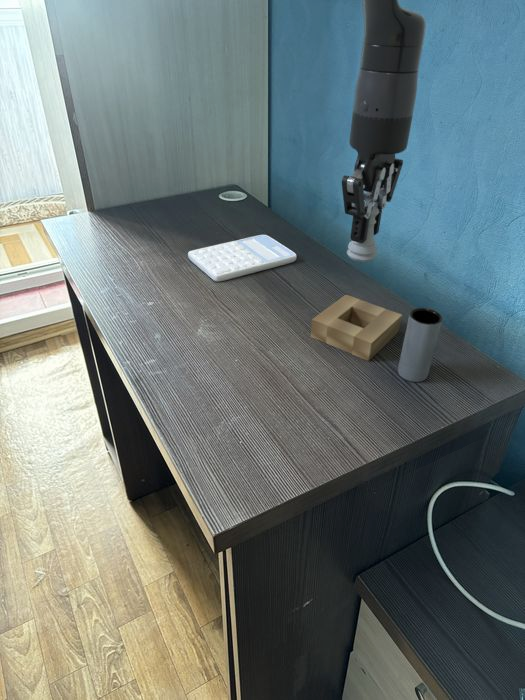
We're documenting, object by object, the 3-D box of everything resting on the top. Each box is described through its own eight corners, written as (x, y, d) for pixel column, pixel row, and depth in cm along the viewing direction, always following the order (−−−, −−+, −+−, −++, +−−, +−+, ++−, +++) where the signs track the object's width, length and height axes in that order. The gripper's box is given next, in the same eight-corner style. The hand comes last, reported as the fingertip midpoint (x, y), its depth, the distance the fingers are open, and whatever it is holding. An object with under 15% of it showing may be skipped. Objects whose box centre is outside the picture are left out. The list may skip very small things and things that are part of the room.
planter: (398, 380, 78) (410, 322, 72) (396, 362, 81) (408, 306, 75) (429, 384, 77) (444, 325, 71) (426, 366, 81) (440, 309, 75)
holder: (398, 332, 89) (402, 314, 87) (368, 361, 81) (371, 343, 79) (343, 311, 94) (345, 294, 92) (310, 336, 87) (312, 319, 85)
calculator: (186, 258, 110) (185, 250, 109) (265, 239, 119) (265, 232, 118) (215, 283, 101) (215, 275, 100) (298, 261, 110) (299, 253, 109)
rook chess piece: (379, 253, 78) (388, 201, 74) (372, 265, 75) (380, 211, 70) (351, 247, 80) (357, 196, 75) (342, 259, 76) (348, 206, 72)
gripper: (384, 122, 59) (364, 260, 69) (432, 105, 68) (408, 229, 78) (328, 113, 63) (316, 245, 73) (381, 98, 72) (364, 217, 82)
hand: (364, 236), depth 76 cm, fingers closed on rook chess piece, 3 cm apart
